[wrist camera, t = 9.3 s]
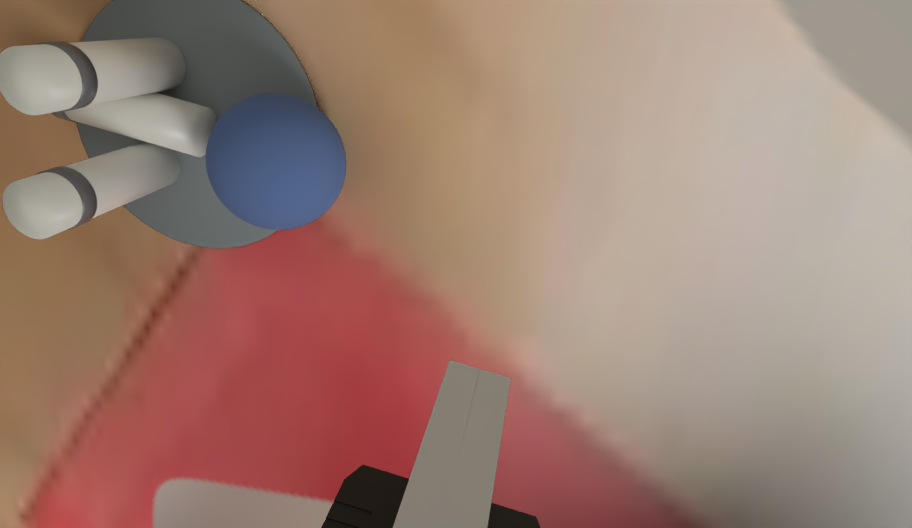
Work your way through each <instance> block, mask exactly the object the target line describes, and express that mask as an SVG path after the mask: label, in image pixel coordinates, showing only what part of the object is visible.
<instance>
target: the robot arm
mask: <svg viewBox="0 0 912 528" xmlns="http://www.w3.org/2000/svg"><path fill="white" fill-rule="evenodd" d="M510 379H511V378H509V377H505V376H502V375H499V374H495V373H492V372H489V371H485V370H482V369H479V368H475V367H472V366H469V365H465V364H462V363H459V362H455V361H452V360H449V363H448V366H447V369H446V372H445V375H444V378H443V381H442V384H441V387H440V390H439V393H438V396H437V399H436V402H435V405H434V408H433V411H432V413H431V416H430V419H429V422H428V425H427V428H426V431H425V434H424V437H423V440H422V443H421V446H420V449H419V452H418V455H417V458H416V461H415V464H414V466H413V469H412V472H411V475H410V478H409V479H408V478H404V477H401V476H398V475H395V474H391V473H388V472H385V471H382V470H379V469H375V468H372V467H369V466H366V465H362V466H361V467H359V468H358V469H357V470H356V471H354V472H353V473H352V474H351V475H349V476H348V477H347V478H346V479H344V481H343V483H342V486H341V488H340V490H339V492H338V494H337V496H336V498H335V500H334V503H333V504H332V507H331V509H330V511H329V513H328V515H327V517H326V520H325V522H324V524H323V525H322V528H540V525H539V523H538V520H537V518H536V517H535V516H532V515H529V514H526V513H522V512H519V511H516V510H513V509H509V508H506V507H503V506H500V505H497V504H493V503H491V501H492V494H493V488H494V482H495V475H496V469H497V462H498V456H499V450H500V443H501V437H502V430H503V424H504V418H505V411H506V405H507V398H508V392H509V386H510Z"/></svg>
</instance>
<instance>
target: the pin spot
mask: <svg viewBox="0 0 912 528" xmlns="http://www.w3.org/2000/svg"><path fill="white" fill-rule="evenodd" d="M153 37H161V38H165V39H167V40H169V41H171V42H172V43H174V44H175V45H176V46H177V47H178V48H179V50H180V51H181V53H182V55H183V57H184V60H185V65H186V72H185V77H184V79H183V81H182V82H181V84H180V85H179V86H177V87H176V88H173V89H170V90H165V91H159V92H156V93H160V94H163V95H167V96H170V97H174V98H177V99H180V100H184V101H187V102H191V103H194V104H198V105H201V106H205V107H208V108H211V109H212V110H213V111H214V112H215V115H216V120H215V124H216V122H217V121H218V120H219V118H220V117H221V116H222V115H223V113H225V112H226V111H227V110H228V109H229V108H230V107H231V106H233V105H234V104H236V103H237V102H239V101H241V100H243V99H245V98H248V97H251V96H254V95H259V94H264V93H281V94H287V95H292V96H295V97H298V98H301V99H303V100H305V101H307V102H309V103H311V104H312V105H314V106H315V107H317V108H318V106H317V102H316V99H315V95H314V92H313V88H312V86H311V84H310V81H309V79H308V77H307V74H306V72H305V70H304V68H303V66H302V64H301V63H300V61H299V59H298V57H297V55H296V54H295V52H294V51H293V49H292V48H291V47H290V45H289V44H288V43H287V41H286V40H285V38H284V37H283V36H282V35H281V34H280V33H279V32H278V31H277V29H276V28H275V27H274V26H273V25H272V24H271V23H270V22H269V21H268V20H267V19H265V18H264V17H263V16H262V15H261V14H260V13H258V12H257V11H256V10H255V9H253V8H252V7H250V6H249V5H247V4H246V3H244V2H243V1H241V0H113V1H112V2H110V3H109V4H108V5H107V6H106V7H105V8H104V9H103V10H102V11H101V12H100V13H99V14H98V15H97V16H96V18H95V19H94V21H93V22H92V24H91V25H90V26H89V28H88V30H87V32H86V34H85V36H84V38H83V40H82V42H89V41H105V40H121V39H137V38H153ZM77 127H78V130H79V133H80V136H81V140H82V143H83V145H84V147H85V150H86V152H87V154H88V157H89V158H93V157H96V156H99V155H103V154H106V153H109V152H112V151H116V150H119V149H122V148H126V147H129V146H132V145H135V144H139V143H142V142H145V141H141V140H138V139H135V138H131V137H128V136H124V135H121V134H118V133H114V132H111V131H107V130H104V129H100V128H97V127H94V126H90V125H87V124H83V123H80V122H77ZM173 151H174V152H175V154H176V156H177V157H178V160H179V164H180V173H179V176H178V178H177V180H176V181H175V182H174V183H173V184H171V185H169V186H166V187H164V188H162V189H159V190H157V191H155V192H152V193H150V194H148V195H146V196H143V197H141V198H139V199H136V200H134V201H132V202H129V203H127V204H125V205H123V206H124V207H125V208H126V209H128V210H129V211H130V212H131V213H132V214H133V215H134V216H136V217H137V218H138V219H140V220H141V221H142V222H143V223H145V224H146V225H148V226H150V227H151V228H153V229H154V230H156V231H158V232H160V233H162V234H164V235H166V236H168V237H170V238H172V239H175V240H178V241H180V242H183V243H186V244H190V245H195V246H199V247H206V248H234V247H240V246H245V245H248V244H251V243H254V242H257V241H260V240H262V239H264V238H266V237H268V236H270V235H272V234H273V233H274V232H276V231H277V230H272V229H265V228H261V227H257V226H254V225H252V224H249V223H247V222H245V221H243V220H242V219H240V218H238V217H237V216H236V215H234V214H233V213H232V212H230V211H229V210H228V209H227V208H226V207H225V206H224V205H223V204H222V202H221V201H220V200H219V198H218V197H217V195H216V194H215V192H214V190H213V188H212V186H211V184H210V181H209V178H208V174H207V170H206V154H205V155H204V156H202V157H196V156H193V155H189V154H186V153H182V152H179V151H176V150H173Z"/></svg>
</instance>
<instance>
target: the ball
mask: <svg viewBox="0 0 912 528" xmlns="http://www.w3.org/2000/svg"><path fill="white" fill-rule="evenodd" d="M206 170H207V174H208V178H209V181H210V184H211V186H212V188H213V190H214V192H215V194H216V195H217V197H218V198H219V200H220V201H221V202H222V204H223V205H224V206H225V207H226V208H227V209H228V210H229V211H230V212H232V213H233V214H234V215H236V216H237V217H238V218H240V219H242V220H243V221H245V222H247V223H249V224H252V225H254V226H257V227H261V228H265V229H272V230H285V229H293V228H297V227H301V226H303V225H306V224H308V223H310V222H312V221H314V220H316V219H317V218H319V217H320V216H321V215H323V214H324V213H325V212H326V211H327V210H328V209H329V208H330V207H331V205H332V204H333V203H334V202H335V200H336V198H337V197H338V195H339V193H340V191H341V189H342V186H343V183H344V179H345V174H346V155H345V150H344V146H343V143H342V140H341V137H340V135H339V133H338V131H337V129H336V128H335V126H334V125H333V123H332V122H331V121H330V120H329V118H328V117H327V116H326V115H325V114H324V113H323V112H322V111H320V110H319V109H318V108H317V107H315V106H314V105H312V104H311V103H309V102H307V101H305V100H303V99H301V98H298V97H295V96H292V95H287V94H281V93H264V94H259V95H254V96H251V97H248V98H245V99H243V100H241V101H239V102H237V103H236V104H234V105H233V106H231V107H230V108H229V109H228V110H227V111H226V112H225V113H223V115H222V116H221V117H220V118H219V120H218V121H217V122H216V124H215V126H214V127H213V129H212V131H211V134H210V136H209V139H208V143H207V148H206Z"/></svg>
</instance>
